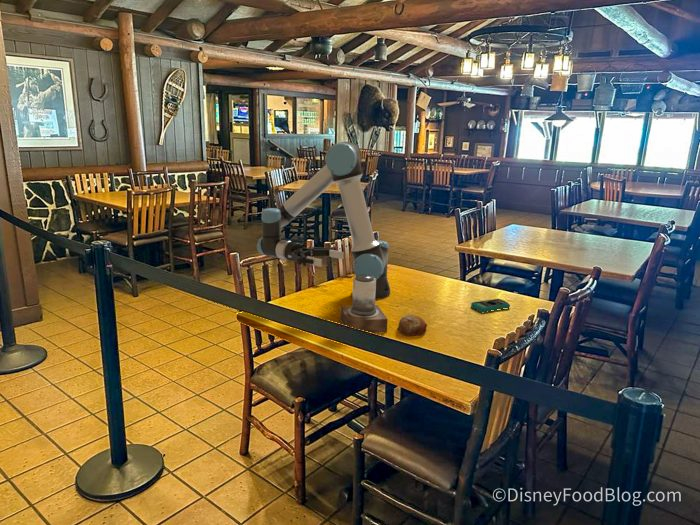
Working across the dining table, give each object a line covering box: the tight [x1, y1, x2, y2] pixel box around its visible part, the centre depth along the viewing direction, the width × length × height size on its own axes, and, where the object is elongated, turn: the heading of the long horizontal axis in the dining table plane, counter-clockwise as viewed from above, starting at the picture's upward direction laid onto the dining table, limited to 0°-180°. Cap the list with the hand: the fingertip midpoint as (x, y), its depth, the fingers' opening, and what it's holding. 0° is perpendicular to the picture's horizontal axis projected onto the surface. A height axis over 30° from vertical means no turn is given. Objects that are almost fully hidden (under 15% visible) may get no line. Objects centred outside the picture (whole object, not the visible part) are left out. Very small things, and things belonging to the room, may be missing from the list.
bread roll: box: [396, 313, 428, 338], centre depth 176 cm, size 10×10×8 cm
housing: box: [350, 274, 376, 316], centre depth 177 cm, size 9×9×13 cm
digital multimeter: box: [470, 298, 511, 313], centre depth 202 cm, size 7×15×3 cm, turn 115°
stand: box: [339, 304, 388, 334], centre depth 179 cm, size 14×14×5 cm
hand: (332, 259), depth 186 cm, fingers open, 13 cm apart
